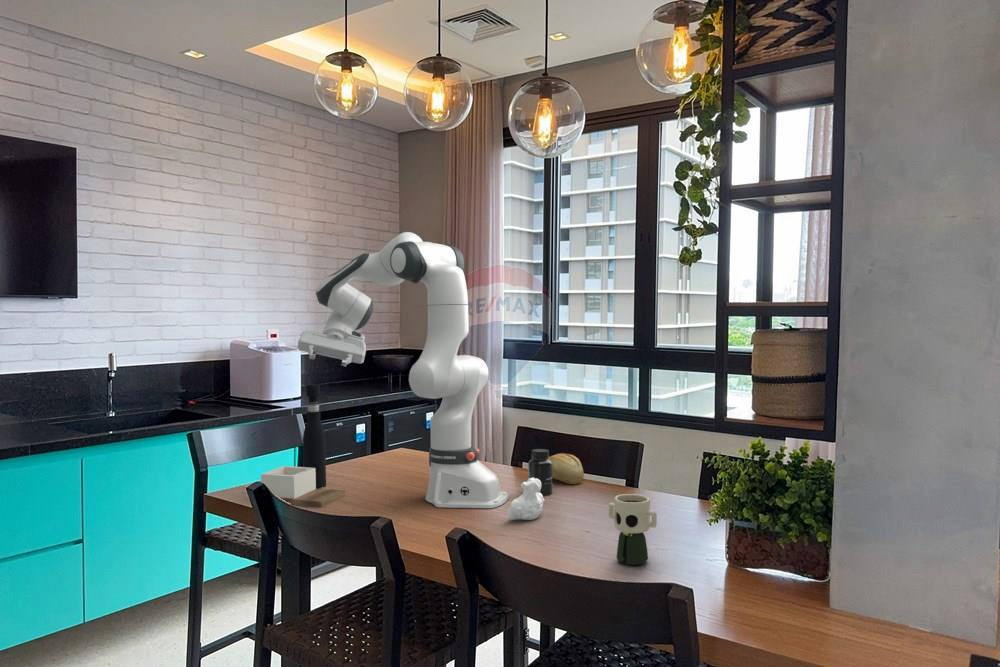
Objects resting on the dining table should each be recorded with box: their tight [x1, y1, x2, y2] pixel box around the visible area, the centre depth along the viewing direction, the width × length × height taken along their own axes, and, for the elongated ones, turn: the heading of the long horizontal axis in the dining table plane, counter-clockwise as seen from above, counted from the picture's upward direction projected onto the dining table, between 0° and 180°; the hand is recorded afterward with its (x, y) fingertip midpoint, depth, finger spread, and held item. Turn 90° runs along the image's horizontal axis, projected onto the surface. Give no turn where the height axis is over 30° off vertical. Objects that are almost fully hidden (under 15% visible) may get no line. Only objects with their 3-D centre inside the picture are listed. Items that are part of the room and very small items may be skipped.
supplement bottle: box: [527, 448, 554, 496], centre depth 196 cm, size 7×7×12 cm
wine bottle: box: [302, 384, 327, 489], centre depth 206 cm, size 6×6×30 cm
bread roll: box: [548, 452, 585, 485], centre depth 210 cm, size 10×15×8 cm, turn 41°
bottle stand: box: [260, 465, 346, 508], centre depth 192 cm, size 20×12×8 cm, turn 73°
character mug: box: [608, 493, 658, 565], centre depth 141 cm, size 11×7×13 cm, turn 49°
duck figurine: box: [507, 477, 545, 521], centre depth 171 cm, size 12×8×11 cm
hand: (328, 360), depth 206 cm, fingers open, 8 cm apart
